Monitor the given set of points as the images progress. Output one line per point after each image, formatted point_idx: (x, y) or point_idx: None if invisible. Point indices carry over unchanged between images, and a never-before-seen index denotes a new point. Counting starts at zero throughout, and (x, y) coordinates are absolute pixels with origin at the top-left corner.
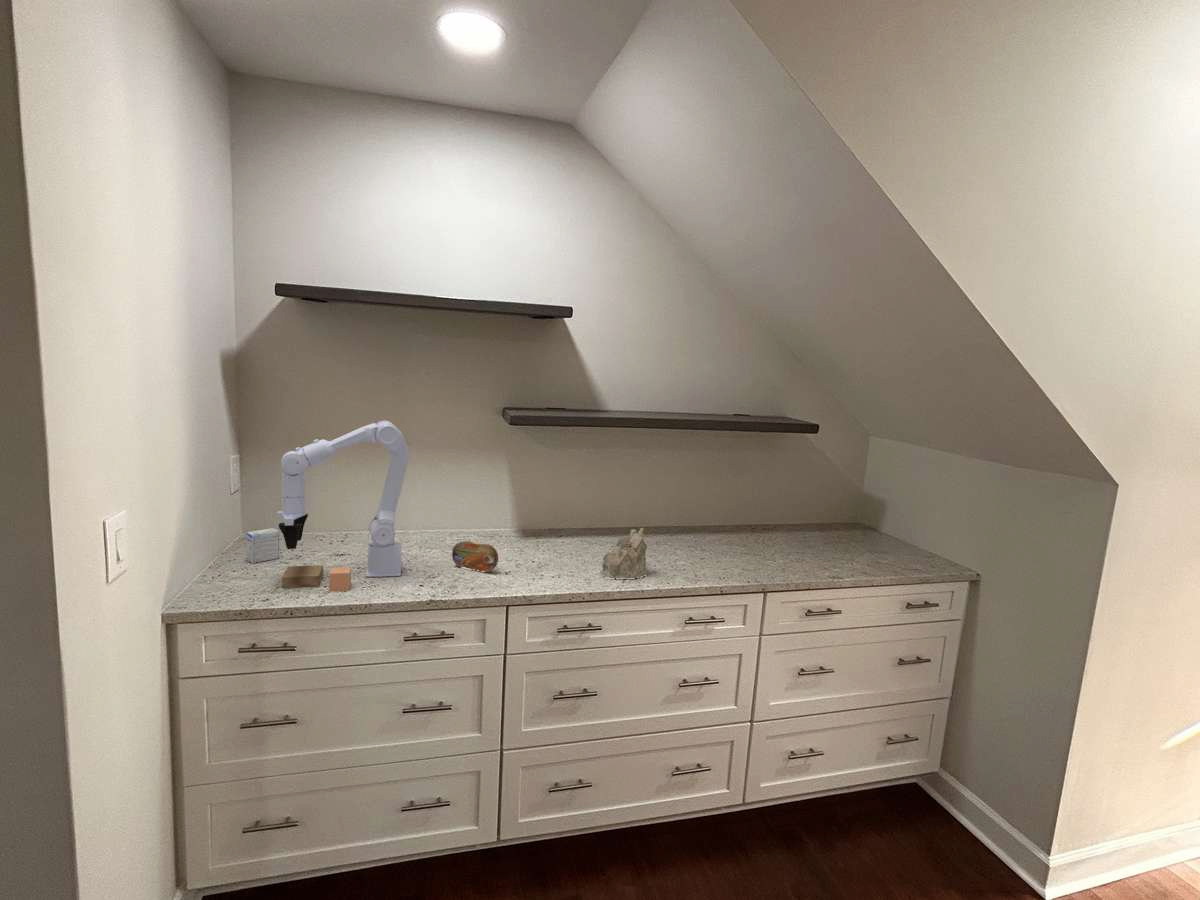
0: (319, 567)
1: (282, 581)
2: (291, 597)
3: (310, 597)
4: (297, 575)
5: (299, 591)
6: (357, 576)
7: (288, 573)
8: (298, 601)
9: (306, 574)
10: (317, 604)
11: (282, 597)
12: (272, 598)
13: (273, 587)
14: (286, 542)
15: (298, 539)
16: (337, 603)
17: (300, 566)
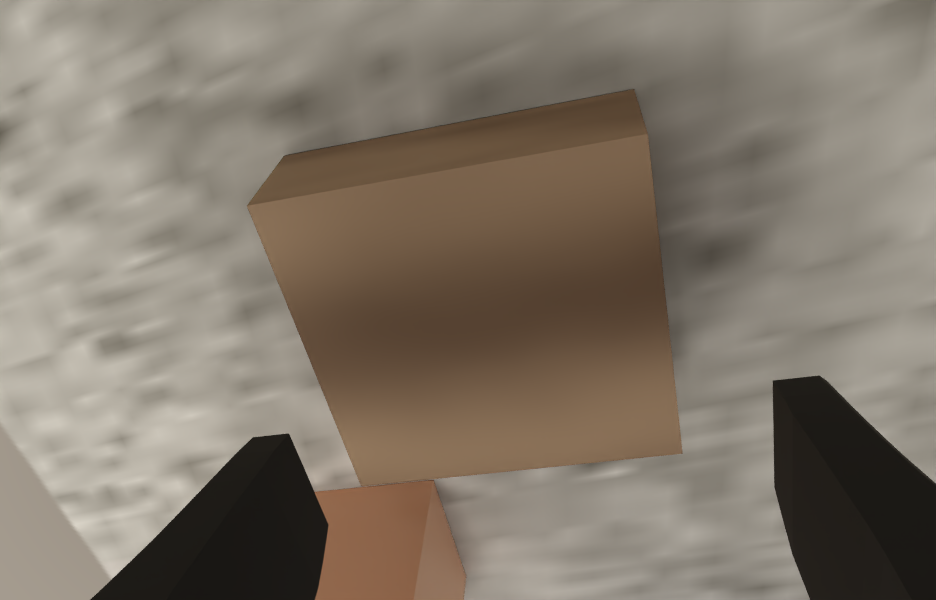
0: (605, 441)
1: (265, 187)
2: (102, 301)
3: (149, 418)
4: (332, 328)
5: (244, 317)
6: (636, 586)
7: (378, 227)
8: (49, 369)
9: (379, 391)
10: (49, 482)
11: (77, 238)
12: (25, 168)
13: (286, 64)
14: (180, 529)
15: (781, 481)
16: (108, 567)
17: (641, 269)
